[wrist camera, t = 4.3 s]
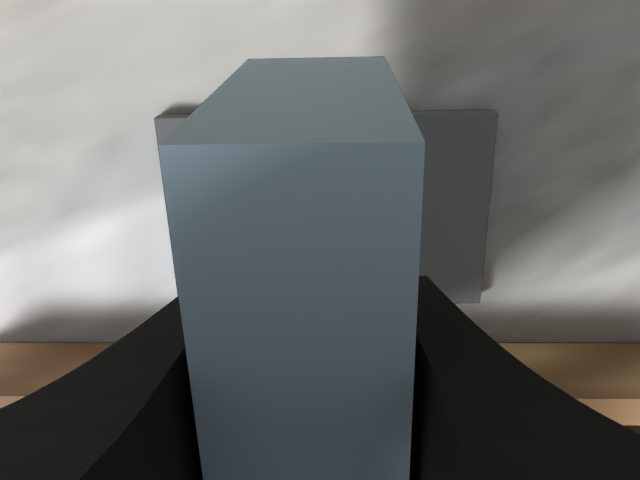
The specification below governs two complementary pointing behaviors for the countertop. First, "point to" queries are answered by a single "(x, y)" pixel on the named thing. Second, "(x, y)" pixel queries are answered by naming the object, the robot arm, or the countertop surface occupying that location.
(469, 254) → the mat
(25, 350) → the tray
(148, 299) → the countertop surface
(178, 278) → the pale blue block
